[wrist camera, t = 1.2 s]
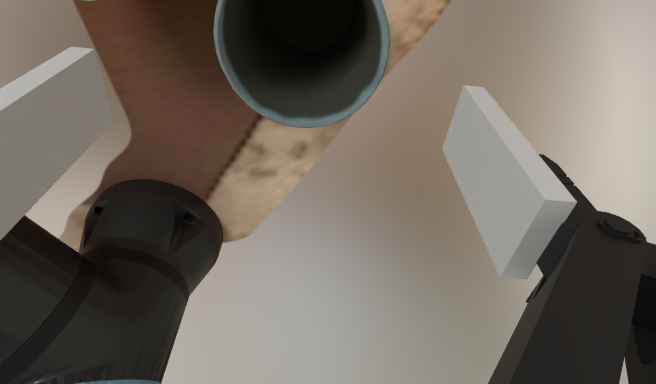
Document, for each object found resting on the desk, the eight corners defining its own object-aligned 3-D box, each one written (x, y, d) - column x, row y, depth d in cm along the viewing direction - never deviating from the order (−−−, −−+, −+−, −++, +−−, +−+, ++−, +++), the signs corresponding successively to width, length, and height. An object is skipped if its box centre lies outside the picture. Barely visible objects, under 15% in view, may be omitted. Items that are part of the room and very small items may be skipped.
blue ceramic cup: (339, 81, 35) (345, 149, 26) (232, 37, 33) (195, 94, 23) (392, -35, 30) (425, -3, 20) (268, -99, 27) (238, -98, 18)
